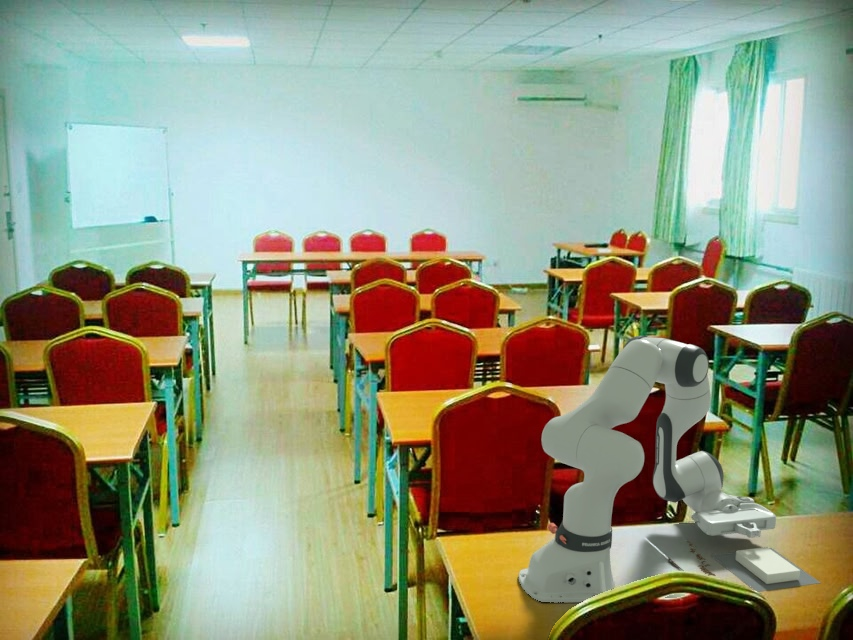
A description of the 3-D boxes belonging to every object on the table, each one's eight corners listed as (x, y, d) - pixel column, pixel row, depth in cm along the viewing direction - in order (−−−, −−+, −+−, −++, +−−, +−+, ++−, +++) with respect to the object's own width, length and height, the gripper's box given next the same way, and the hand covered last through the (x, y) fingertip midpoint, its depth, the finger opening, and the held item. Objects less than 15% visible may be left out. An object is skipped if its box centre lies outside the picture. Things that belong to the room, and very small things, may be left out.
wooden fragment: (727, 585, 187) (727, 581, 186) (680, 585, 187) (680, 581, 187) (692, 536, 212) (693, 532, 212) (652, 535, 212) (652, 532, 212)
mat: (755, 593, 183) (755, 591, 183) (710, 556, 200) (710, 555, 200) (820, 584, 187) (821, 582, 187) (770, 549, 204) (771, 547, 204)
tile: (735, 560, 197) (766, 585, 186) (736, 550, 197) (767, 574, 185) (766, 556, 199) (799, 580, 188) (767, 547, 199) (800, 570, 187)
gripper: (688, 503, 206) (720, 526, 193) (756, 497, 211) (791, 519, 198) (686, 526, 207) (718, 550, 194) (753, 518, 212) (788, 542, 199)
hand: (755, 534), depth 196 cm, fingers closed
